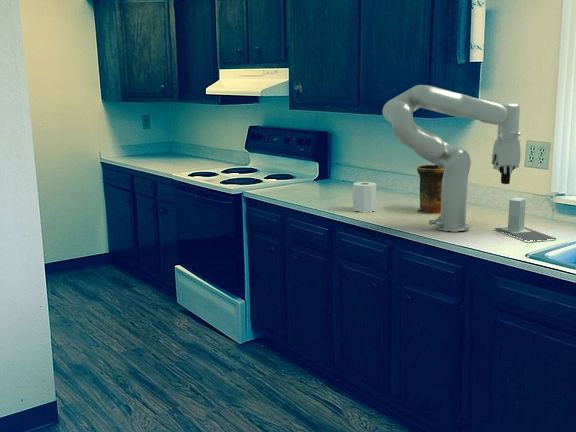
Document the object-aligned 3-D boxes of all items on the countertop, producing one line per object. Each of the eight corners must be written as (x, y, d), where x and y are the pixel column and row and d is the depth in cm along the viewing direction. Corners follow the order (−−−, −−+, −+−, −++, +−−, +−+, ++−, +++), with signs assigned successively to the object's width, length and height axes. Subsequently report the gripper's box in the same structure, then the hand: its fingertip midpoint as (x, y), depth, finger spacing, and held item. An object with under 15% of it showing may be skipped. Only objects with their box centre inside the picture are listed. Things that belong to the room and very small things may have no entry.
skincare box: (513, 227, 242) (515, 196, 240) (524, 229, 240) (526, 198, 237) (507, 230, 238) (509, 199, 235) (518, 232, 235) (520, 200, 232)
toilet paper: (378, 212, 274) (378, 185, 271) (354, 213, 274) (354, 185, 271) (373, 207, 284) (374, 181, 281) (351, 208, 283) (351, 181, 281)
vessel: (442, 216, 265) (443, 169, 261) (411, 213, 273) (411, 167, 269) (455, 210, 276) (456, 165, 272) (425, 207, 284) (425, 163, 280)
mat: (527, 242, 223) (527, 240, 223) (494, 229, 242) (494, 228, 242) (556, 240, 226) (556, 238, 226) (521, 227, 245) (521, 225, 245)
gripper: (518, 134, 245) (515, 180, 249) (484, 136, 241) (482, 183, 245) (530, 136, 238) (527, 183, 242) (496, 138, 234) (494, 186, 238)
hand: (505, 183), depth 244 cm, fingers closed
